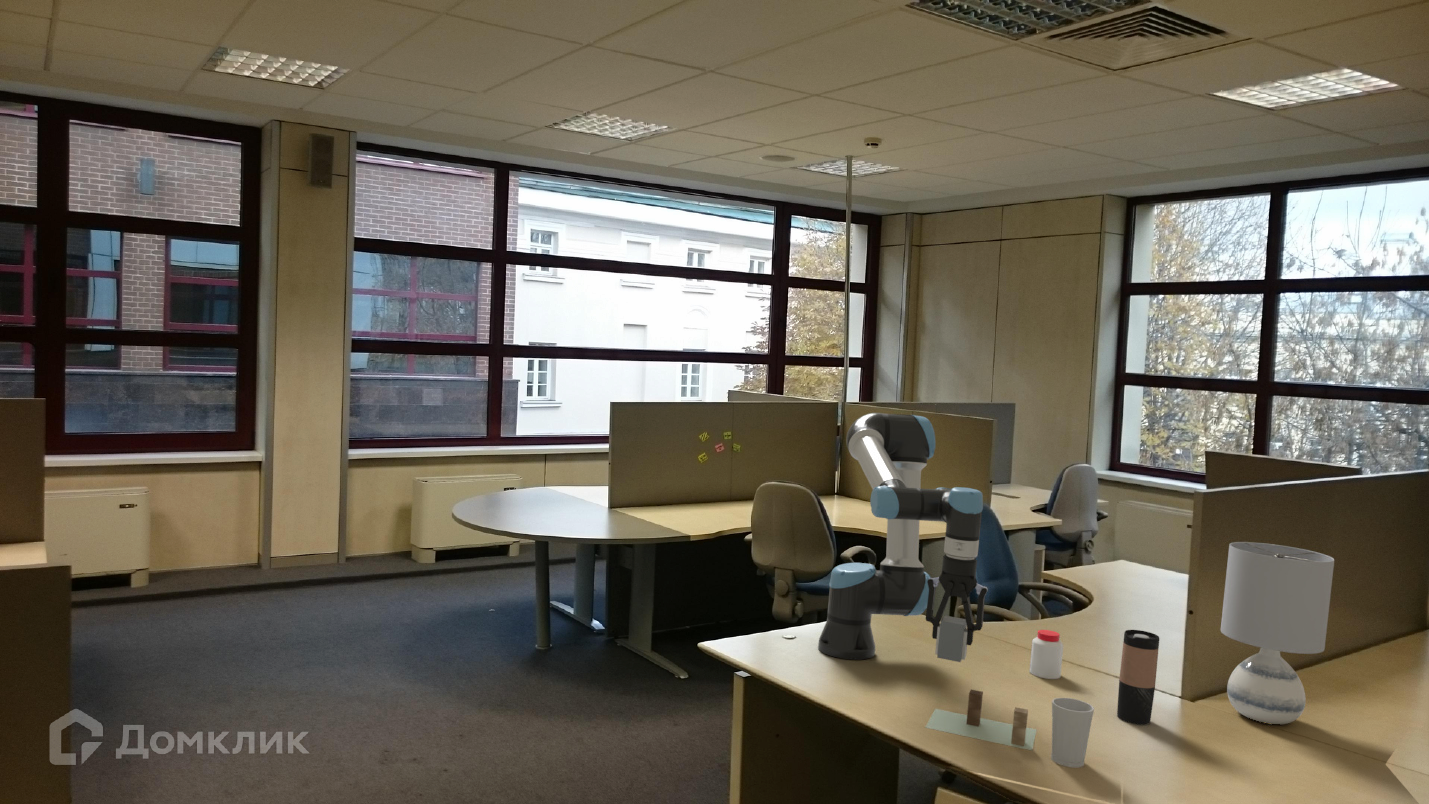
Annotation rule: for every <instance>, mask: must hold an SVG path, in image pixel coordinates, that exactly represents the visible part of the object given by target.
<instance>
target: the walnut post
mask: <svg viewBox="0 0 1429 804" xmlns="http://www.w3.org/2000/svg"><path fill="white" fill-rule="evenodd" d="M983 694H984V692H983V691H980V690H977V689H970V690H969V693H968V703H967V704H968V705H967V713H966V715H967V723H966V724H968V725H973V726H977V727H979V724H980V718H982V704H983Z"/></svg>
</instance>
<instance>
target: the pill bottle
mask: <svg viewBox="0 0 1429 804" xmlns="http://www.w3.org/2000/svg"><path fill="white" fill-rule="evenodd" d="M1060 636H1061V634H1060V633H1059V632H1057V631H1054V630H1051V629H1039V630H1037V635H1036V637H1035V636H1034V638H1033V639H1032V640H1031V651H1030V652H1031V653H1030V661H1029V662H1030V663H1029V670H1028V671H1029V673H1030V675H1033V676H1035V677H1038V678H1042V679H1047V680H1048V679H1049V680H1058V679H1060V678H1061V676H1062V674H1061V673H1062V663H1063V654H1064V643H1063V642H1062V641H1061V640H1060Z"/></svg>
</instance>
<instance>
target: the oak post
mask: <svg viewBox="0 0 1429 804" xmlns="http://www.w3.org/2000/svg"><path fill="white" fill-rule="evenodd" d="M1028 713H1029V709H1026V708H1020V707H1018V706H1015V707H1014V710H1013V718H1012V720H1013V721H1012V725H1013V728H1012V739H1011V744H1015V745H1020V746H1024V744H1025V737H1026V727H1027V725H1028V716H1029V715H1028ZM1027 728H1028V727H1027Z"/></svg>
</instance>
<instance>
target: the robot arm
mask: <svg viewBox="0 0 1429 804" xmlns="http://www.w3.org/2000/svg"><path fill="white" fill-rule="evenodd" d="M845 437H846V438H845V441H846V443H845V444H846V448H847V450H848V452H849V453H850V456H851V457H852V458H853V459H854V460H856V461H858V464H859V465H860V467H861V469H862V471H863V474H864V475H865V477H866V479H867V481H868V483H869V486H870V487H871V489H872V491H871V495H870V502H869V503H870V504H869V505H870V508H871V509H870V510H871V513H872V515H873V516H874V517H875V518H879V519H880V518H881V519H886V520H887V521H886V524H887V525H886V526H887V527H886V551H885V552H886V553H885V554H886V556H885V558H884V559H883V560H882V561H881V562H880V564H879V565H880V566H879V570H877V569H876V567H875V565H874V564H871V563H866V562H864V563H862V562H847V563H842V564H839V565H837V566H835V567H834V568H833V569H832V571H831V574H830V580H829V584H828V586H829V593H828V604H827V605H828V606H827V615H826V616H827V617H826V622H825V624H824V627H823V629H822V631H821V634H820V636H819V638H818V647H817V648H818V650H819V652H821V653H823V654H825V655H828V656H829V657H834V658H838V659H843V660H856V661H857V660H858V661H859V660H868V659H871V658H873V657H875V655H876V643H875V640H874V635H873V630H872V626H871V623H872V616H873V615H883V616H884V615H888V616H903V617H909V616H910V617H911V616H920V615H922V614H923V613H924V612H925V610H926V613H925V620H926V622H929V623H931V624H932V634H931V637H932V639H933V640H936V642H935V653H934V655H938V644H939V634H940V624H941V620H942V618H943V614H944V612H945V610H946V607H947V605H948V602H949V600H950V597H958V598H960V599H961V602H962V605H963V607H962V608H963V610H964V611H963V612H964V617H965V618H964V619H966V624H967V627H966V629H965V631H964V637H963V647H962V658H961V659H962V660H963V661H965V659H967V653H968V652H967V651H968V646H971V645H972V644H973V640H974V632H976V631H981V630H982V628H983V623H984V610H985V609H984V608H985V598H986V595H987V592H988V590H989V588H988V586H986V585H984V586H983V585H981V584H980V583H978V581H977V577H976V576H977V575H976V573H977V565H978V560H977V557H978V554H979V545H980V534H981V533H980V532H981V525H982V524H981V523H982V515H983V509H984V505H983V504H984V503H983V501H984V498H983V497H984V495H983V492H982V491H980V490H978V489H974V488H970V487H963V486H962V487H961V486H960V487H959V486H958V487H957V486H955V487H953V488H948V487H942V486H941V487H937V488H921V485H922V484H921V482H922V479H921V478H922V477H921V476H922V470H923V469H924V468H926V466H927V465H928V460H930V459H931V458H933V457H934V455H935V450H936V434H935V429H934V426H933V425H932V422H931V421H930V420H929V419H928V418H927V417H925V416H922V415H915V414H901V413H900V414H899V413H898V414H897V413H885V412H884V413H882V412H871V413H870V412H869V413H867V414H863V415H861V416H860V417H859V418H857V419H856V420H855V421H854V422H853V423H852V424H851V425H850V427H849V429H848V431H847V432H846V436H845ZM920 521H924V522H926V521H927V522H943V523H946V525H945V527H946V528H945V534H944V535H945V537H944V546H943V552H944V553H945V554H944V555H943V557H942V566H941V567H942V568H941V574H940V575H939V576H938V577H932V576H930V574H928V572H926V571H925V566H924V565H923V563H922V562H921V561H920V559H919V551H920V550H919V548H920V544H919V543H920ZM939 584H940V585H941V587H942V589H943V590H944V593H943V596H942V599H941V601H940V604H939V606H938V608H937V609H938V610H937V612H936V614H935V616H934V609H935V608H934V607H935V600H936V591H937V587H938V586H939ZM974 589H975V590H976V594H977V595H978V597H977V605H976V619H975V621H976V622H975V623H974V618H973V613H972V612H973V611H972V607H971V601H970V600H971V599H970V598H971V597H970V593H971V592H972V591H974ZM962 660H961V661H962Z"/></svg>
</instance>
